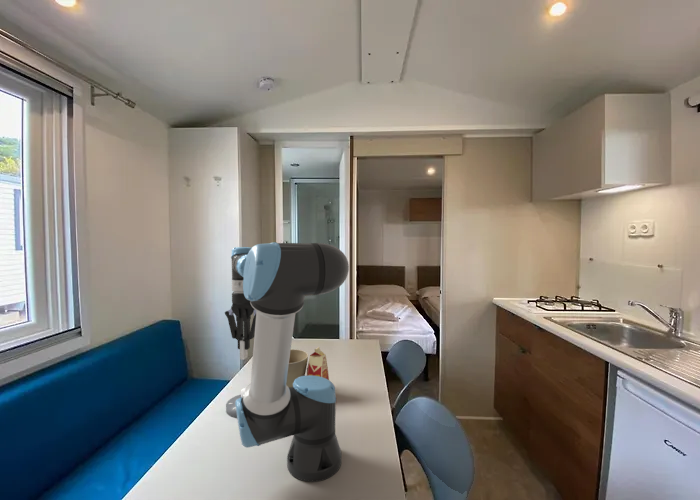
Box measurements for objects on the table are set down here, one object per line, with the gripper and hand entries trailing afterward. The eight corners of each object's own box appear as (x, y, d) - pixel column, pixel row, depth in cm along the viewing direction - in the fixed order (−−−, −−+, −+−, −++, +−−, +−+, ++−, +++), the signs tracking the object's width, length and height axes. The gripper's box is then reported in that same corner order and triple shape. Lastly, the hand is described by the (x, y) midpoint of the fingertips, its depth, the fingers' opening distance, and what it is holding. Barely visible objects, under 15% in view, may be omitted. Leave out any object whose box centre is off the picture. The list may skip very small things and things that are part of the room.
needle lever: (241, 399, 121) (240, 388, 121) (251, 398, 122) (251, 386, 122) (241, 412, 113) (241, 399, 112) (252, 410, 114) (252, 397, 114)
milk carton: (325, 403, 123) (325, 351, 122) (301, 401, 125) (301, 349, 124) (331, 392, 132) (331, 343, 131) (309, 390, 134) (309, 342, 133)
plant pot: (268, 389, 134) (268, 351, 134) (304, 384, 139) (304, 347, 138) (271, 407, 120) (271, 365, 119) (311, 401, 125) (311, 360, 124)
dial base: (252, 420, 111) (252, 414, 111) (217, 414, 115) (217, 408, 115) (272, 400, 125) (272, 395, 125) (241, 395, 129) (240, 390, 128)
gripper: (220, 292, 110) (220, 361, 111) (256, 293, 109) (257, 363, 109) (231, 289, 118) (231, 353, 119) (265, 290, 116) (265, 355, 117)
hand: (243, 358), depth 114 cm, fingers closed
